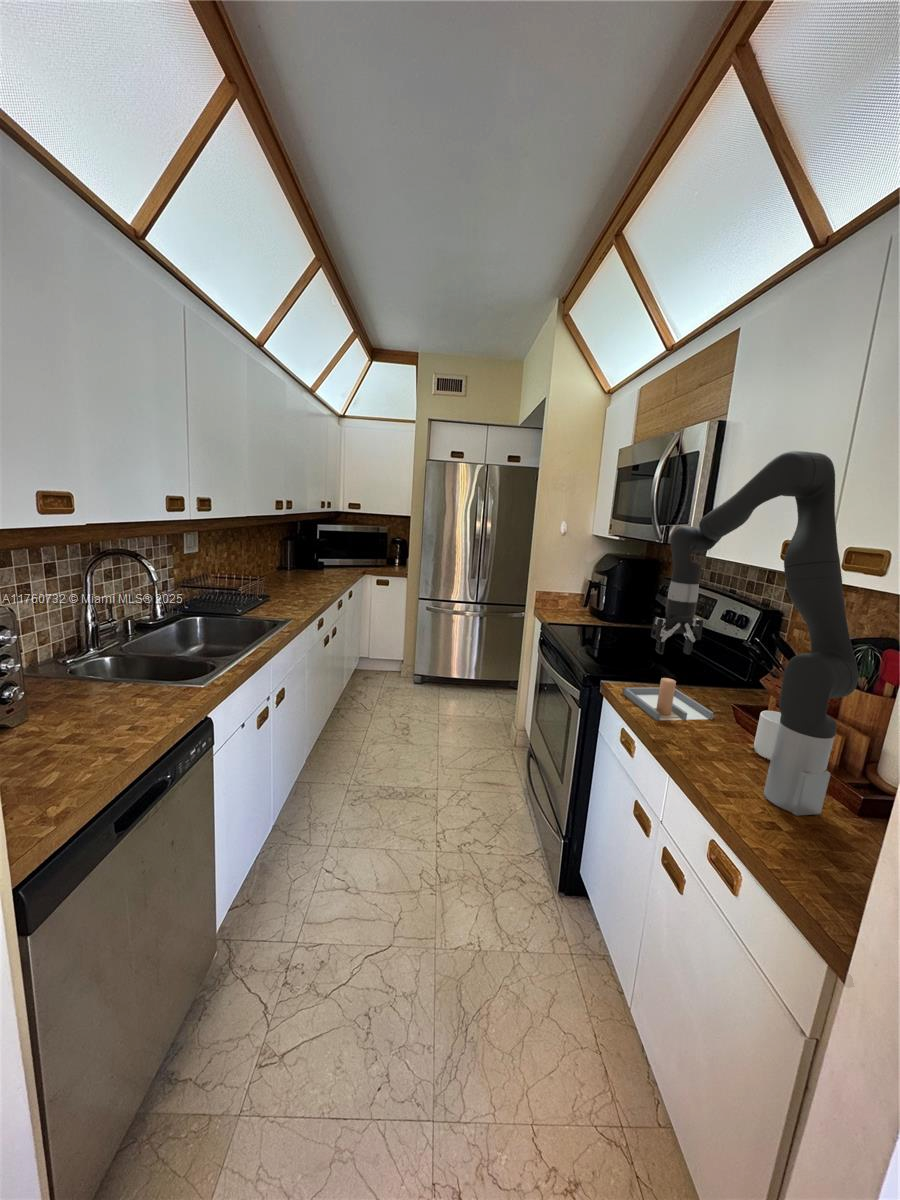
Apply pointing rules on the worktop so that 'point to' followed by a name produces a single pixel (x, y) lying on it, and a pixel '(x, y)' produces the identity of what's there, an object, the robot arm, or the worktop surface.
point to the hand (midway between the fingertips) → (673, 653)
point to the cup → (766, 733)
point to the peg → (666, 696)
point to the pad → (668, 715)
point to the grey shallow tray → (680, 706)
